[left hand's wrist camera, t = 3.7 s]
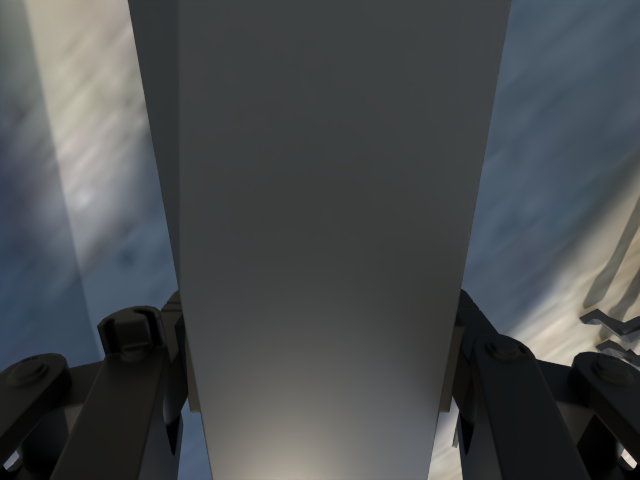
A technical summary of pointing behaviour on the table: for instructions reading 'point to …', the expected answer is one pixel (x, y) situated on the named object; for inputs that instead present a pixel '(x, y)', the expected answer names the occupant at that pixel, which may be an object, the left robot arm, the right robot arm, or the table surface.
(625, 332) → the toy
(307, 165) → the bar
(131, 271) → the table surface
